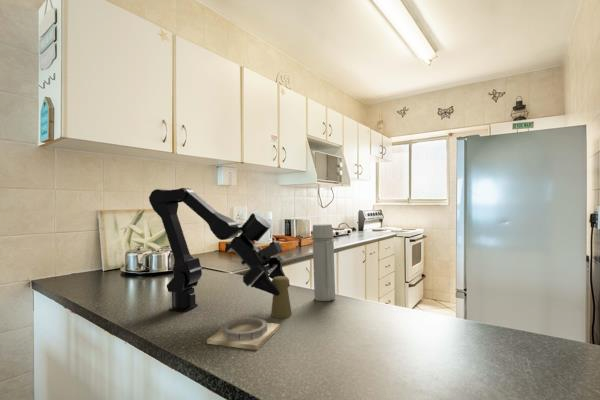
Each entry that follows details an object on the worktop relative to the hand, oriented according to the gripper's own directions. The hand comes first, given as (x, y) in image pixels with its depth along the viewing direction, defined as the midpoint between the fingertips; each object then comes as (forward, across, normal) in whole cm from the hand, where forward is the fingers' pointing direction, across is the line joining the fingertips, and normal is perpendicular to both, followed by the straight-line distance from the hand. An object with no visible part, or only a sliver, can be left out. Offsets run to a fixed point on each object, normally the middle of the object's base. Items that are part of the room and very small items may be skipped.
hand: (284, 290), depth 90 cm
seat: (+2, -16, +8) cm, 18 cm away
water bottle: (+11, +16, -1) cm, 20 cm away
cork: (+4, 0, +6) cm, 7 cm away
